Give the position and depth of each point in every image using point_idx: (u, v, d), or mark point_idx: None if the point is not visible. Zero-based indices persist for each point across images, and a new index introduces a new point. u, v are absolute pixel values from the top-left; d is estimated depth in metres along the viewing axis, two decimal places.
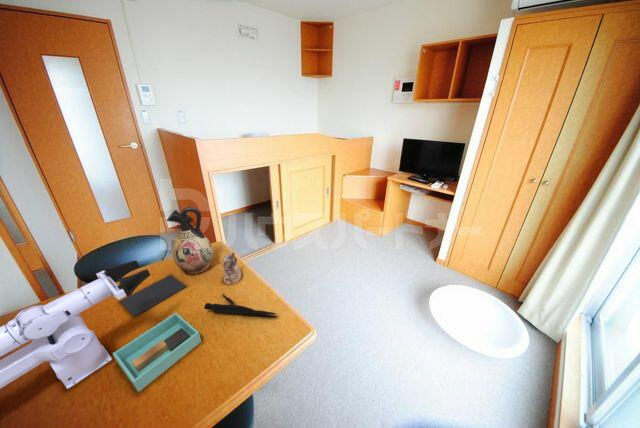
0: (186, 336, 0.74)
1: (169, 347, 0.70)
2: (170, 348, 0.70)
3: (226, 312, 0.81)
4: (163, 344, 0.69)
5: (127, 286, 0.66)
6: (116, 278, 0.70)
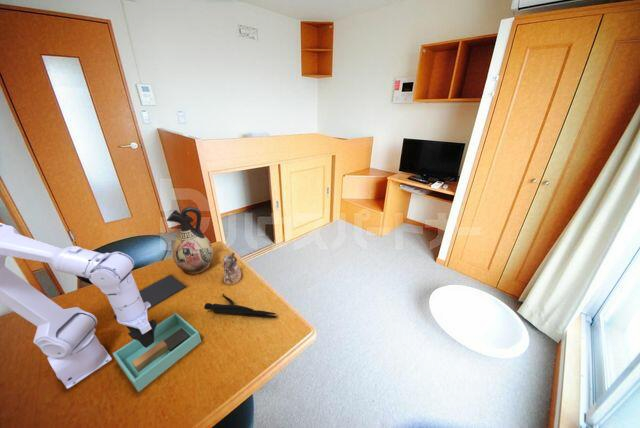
0: (186, 336, 0.74)
1: (169, 347, 0.70)
2: (170, 348, 0.70)
3: (226, 312, 0.81)
4: (163, 344, 0.69)
5: None
6: None
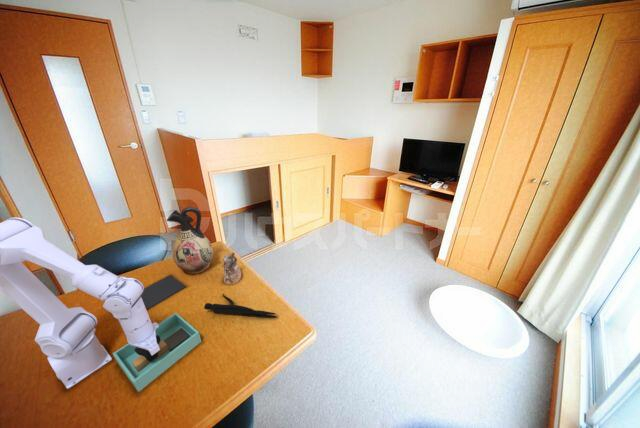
0: (186, 336, 0.74)
1: (169, 347, 0.70)
2: (170, 348, 0.70)
3: (226, 312, 0.81)
4: (163, 344, 0.70)
5: None
6: None
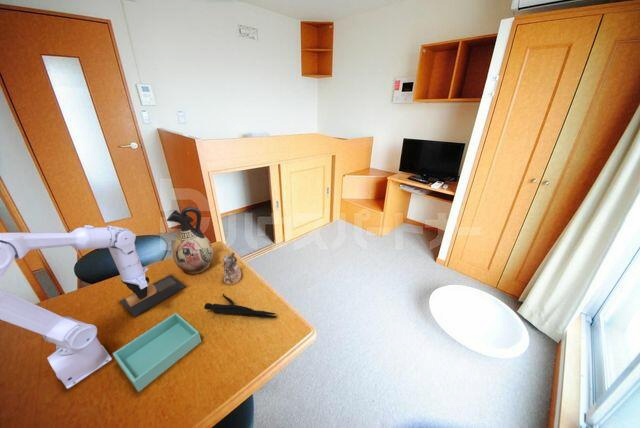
0: (173, 283, 0.85)
1: (158, 290, 0.82)
2: (159, 290, 0.82)
3: (226, 312, 0.81)
4: (152, 287, 0.81)
5: None
6: None
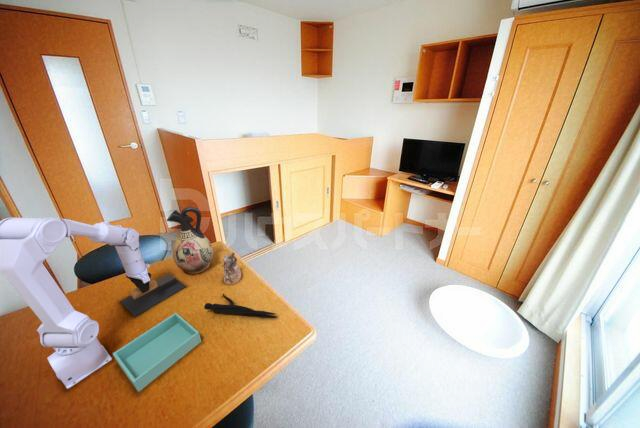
0: (172, 278, 0.94)
1: (158, 285, 0.90)
2: (159, 285, 0.90)
3: (226, 312, 0.81)
4: (154, 282, 0.90)
5: None
6: (132, 277, 0.85)
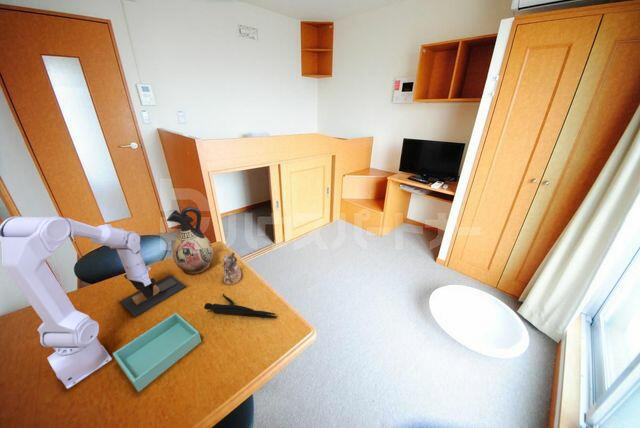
0: (174, 283, 0.95)
1: (160, 290, 0.92)
2: (161, 290, 0.91)
3: (226, 312, 0.81)
4: (156, 287, 0.91)
5: None
6: None
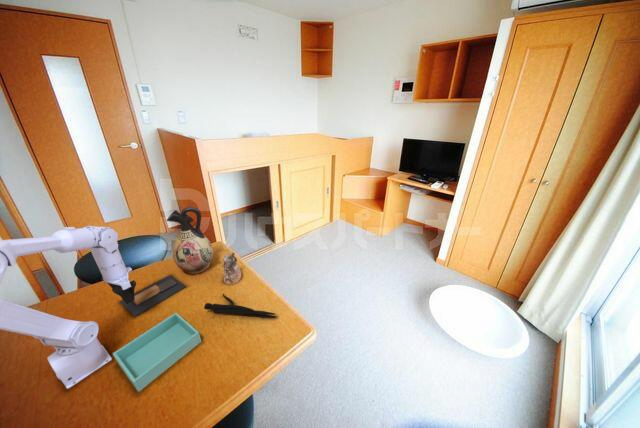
0: (174, 283, 0.95)
1: (160, 290, 0.92)
2: (161, 290, 0.91)
3: (226, 312, 0.81)
4: (156, 287, 0.91)
5: None
6: None
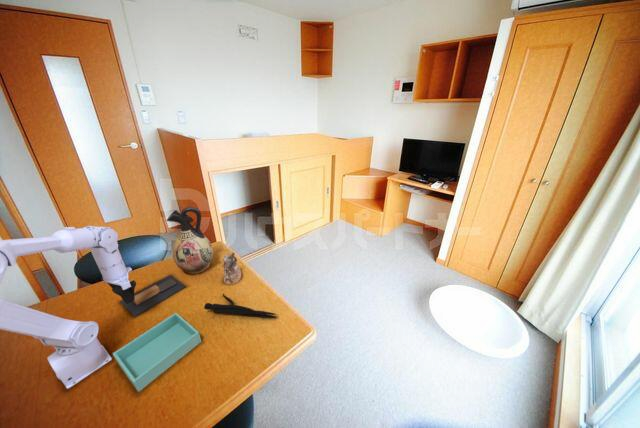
0: (174, 283, 0.95)
1: (160, 290, 0.92)
2: (161, 290, 0.91)
3: (226, 312, 0.81)
4: (156, 287, 0.91)
5: None
6: None
